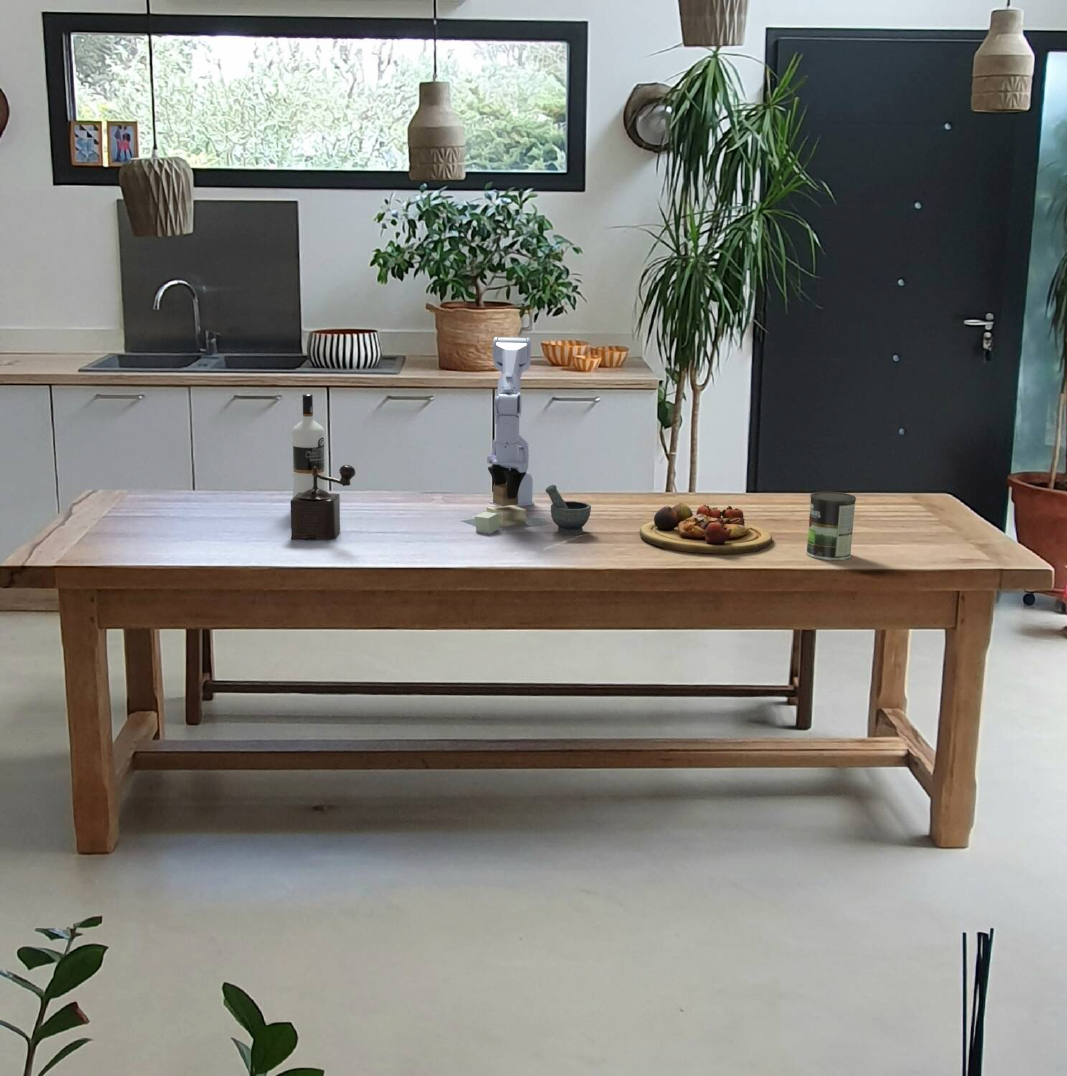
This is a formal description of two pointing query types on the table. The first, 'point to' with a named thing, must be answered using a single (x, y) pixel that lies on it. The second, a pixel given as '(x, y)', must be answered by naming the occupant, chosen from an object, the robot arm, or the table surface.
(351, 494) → the table surface
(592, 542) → the table surface
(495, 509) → the beech block
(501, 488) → the walnut cube
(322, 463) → the vodka
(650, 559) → the table surface
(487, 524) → the sage block
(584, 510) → the mortar and pestle
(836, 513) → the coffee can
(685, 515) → the wooden plate with food
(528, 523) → the slate mat
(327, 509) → the manual coffee grinder
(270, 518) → the table surface
